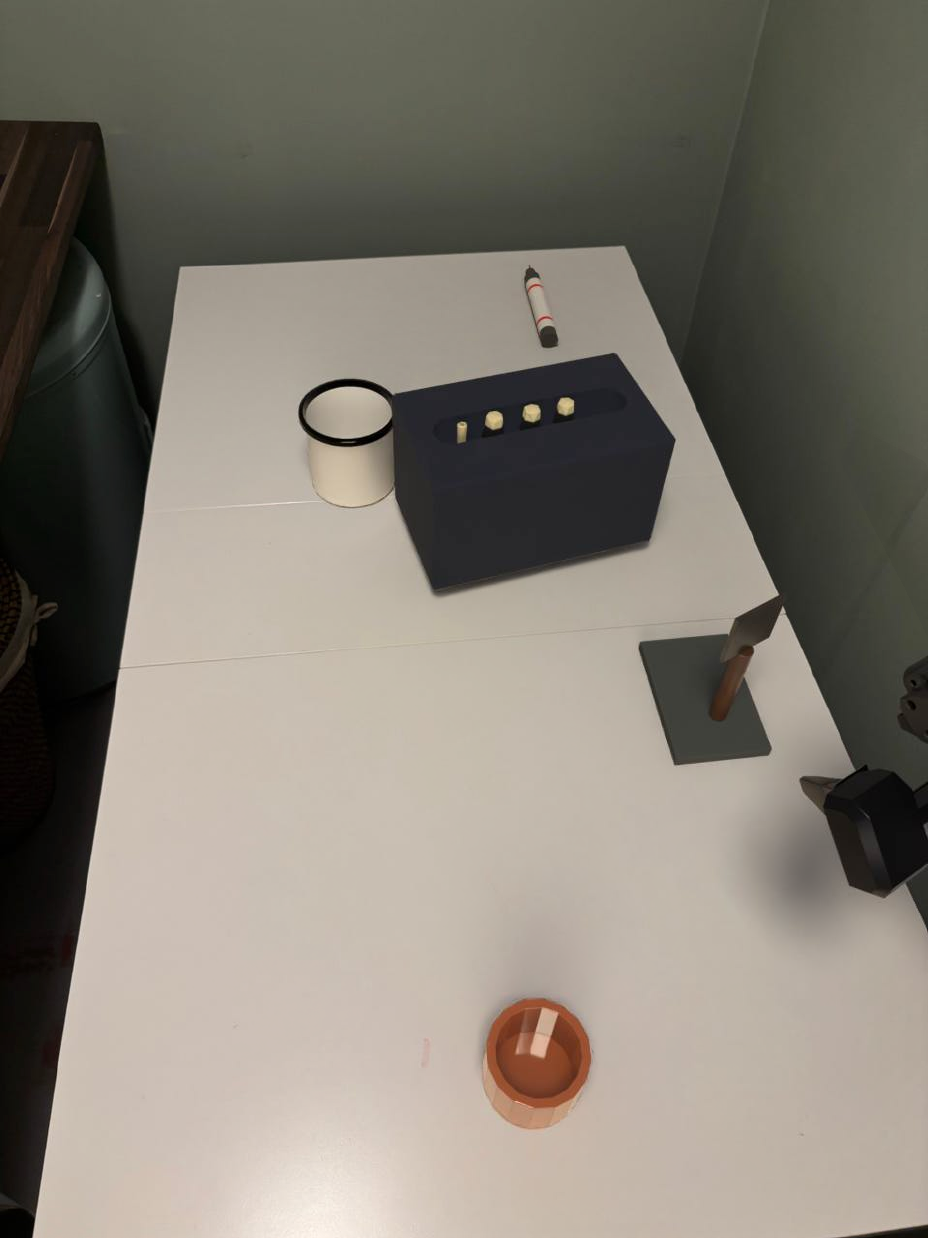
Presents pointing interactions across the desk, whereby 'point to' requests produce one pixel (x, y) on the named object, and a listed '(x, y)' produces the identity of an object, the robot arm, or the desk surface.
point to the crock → (535, 1063)
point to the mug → (349, 440)
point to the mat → (700, 701)
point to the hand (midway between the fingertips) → (852, 751)
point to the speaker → (527, 468)
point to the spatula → (743, 651)
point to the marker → (540, 308)
